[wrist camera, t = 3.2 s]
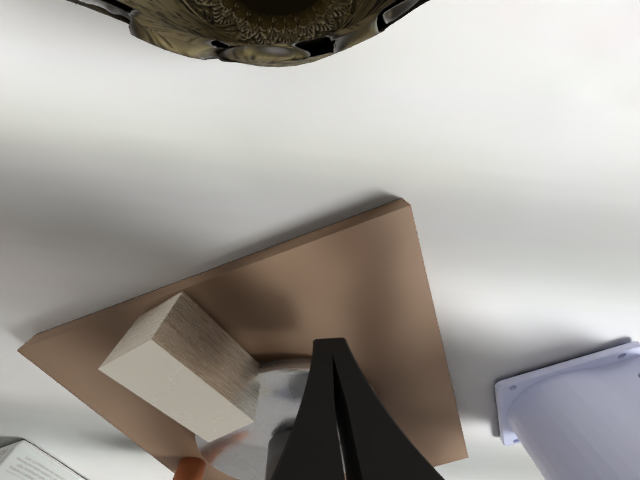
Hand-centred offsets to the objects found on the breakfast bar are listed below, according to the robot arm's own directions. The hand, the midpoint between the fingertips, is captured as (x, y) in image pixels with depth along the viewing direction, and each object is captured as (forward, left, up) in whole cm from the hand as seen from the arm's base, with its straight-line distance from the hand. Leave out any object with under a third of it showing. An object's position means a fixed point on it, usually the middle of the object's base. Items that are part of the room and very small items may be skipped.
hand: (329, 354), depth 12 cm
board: (+5, +7, -3) cm, 9 cm away
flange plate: (+5, +4, -2) cm, 7 cm away
